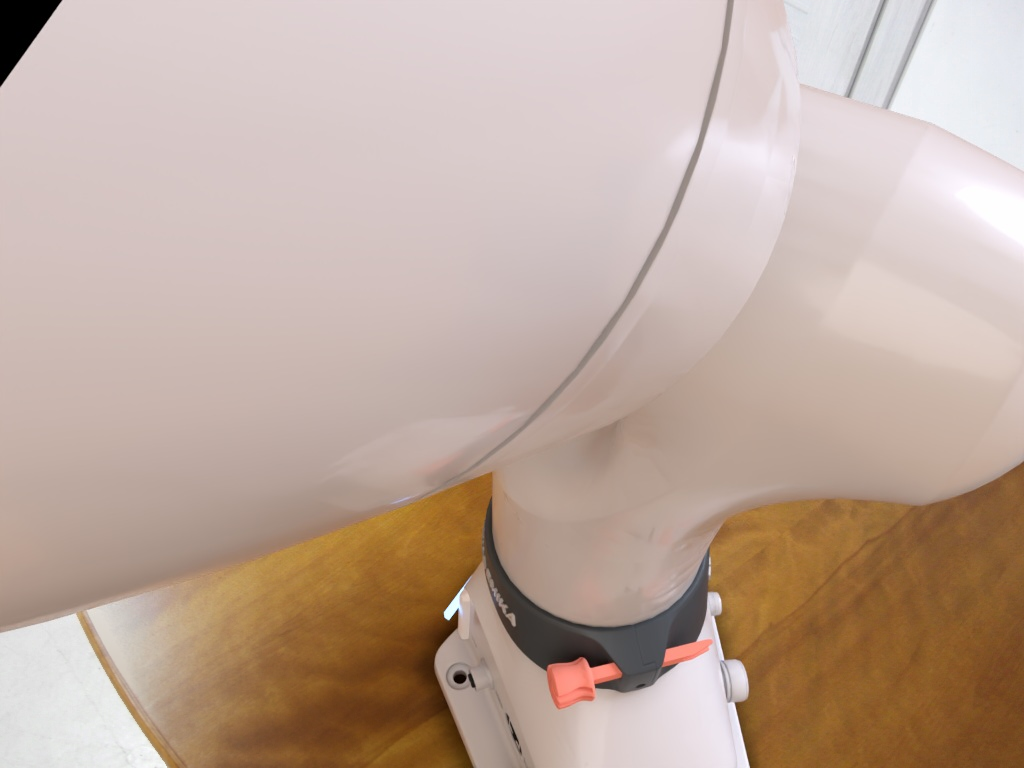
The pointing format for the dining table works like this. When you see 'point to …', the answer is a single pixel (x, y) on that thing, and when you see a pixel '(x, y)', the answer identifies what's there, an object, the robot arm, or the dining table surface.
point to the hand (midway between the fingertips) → (147, 326)
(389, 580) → the dining table surface
